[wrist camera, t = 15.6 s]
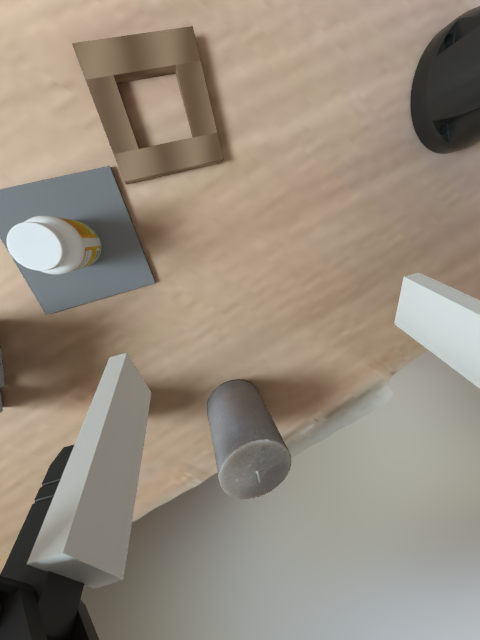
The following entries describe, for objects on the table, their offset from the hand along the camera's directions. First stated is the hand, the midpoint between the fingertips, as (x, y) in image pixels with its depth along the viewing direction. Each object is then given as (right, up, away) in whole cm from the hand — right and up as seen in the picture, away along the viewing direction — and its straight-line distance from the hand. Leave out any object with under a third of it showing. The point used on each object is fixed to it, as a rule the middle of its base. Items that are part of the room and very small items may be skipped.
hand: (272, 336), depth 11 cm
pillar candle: (-3, -14, +32) cm, 35 cm away
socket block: (-11, +24, +16) cm, 31 cm away
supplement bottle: (-21, +10, +18) cm, 29 cm away
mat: (-21, +10, +18) cm, 30 cm away
